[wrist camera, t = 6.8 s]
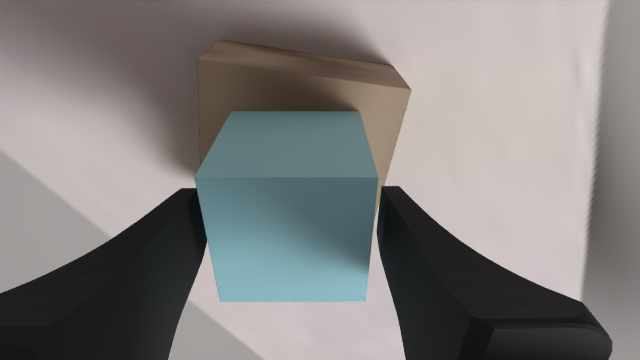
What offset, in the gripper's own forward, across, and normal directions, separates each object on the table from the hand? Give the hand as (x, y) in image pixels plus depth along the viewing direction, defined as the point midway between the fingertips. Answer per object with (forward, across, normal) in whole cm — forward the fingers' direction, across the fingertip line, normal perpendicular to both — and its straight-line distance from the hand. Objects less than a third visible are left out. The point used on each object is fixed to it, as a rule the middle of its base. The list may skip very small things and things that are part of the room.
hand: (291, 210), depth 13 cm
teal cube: (+3, 0, 0) cm, 3 cm away
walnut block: (+7, 0, 0) cm, 7 cm away
